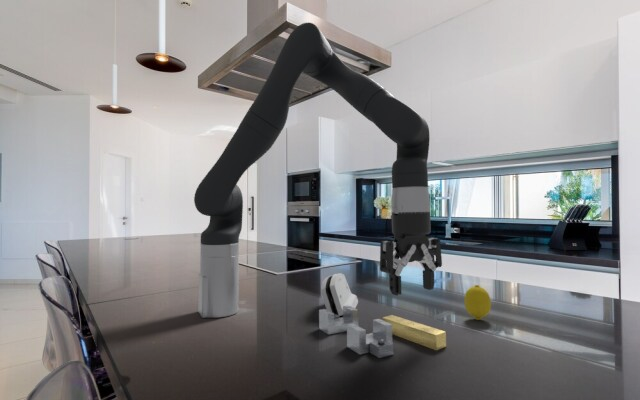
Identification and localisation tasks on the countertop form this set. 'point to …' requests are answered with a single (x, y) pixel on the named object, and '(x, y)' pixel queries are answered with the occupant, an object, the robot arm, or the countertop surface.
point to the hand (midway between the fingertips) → (412, 291)
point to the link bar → (417, 332)
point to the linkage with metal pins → (359, 332)
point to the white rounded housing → (337, 294)
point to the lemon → (477, 302)
